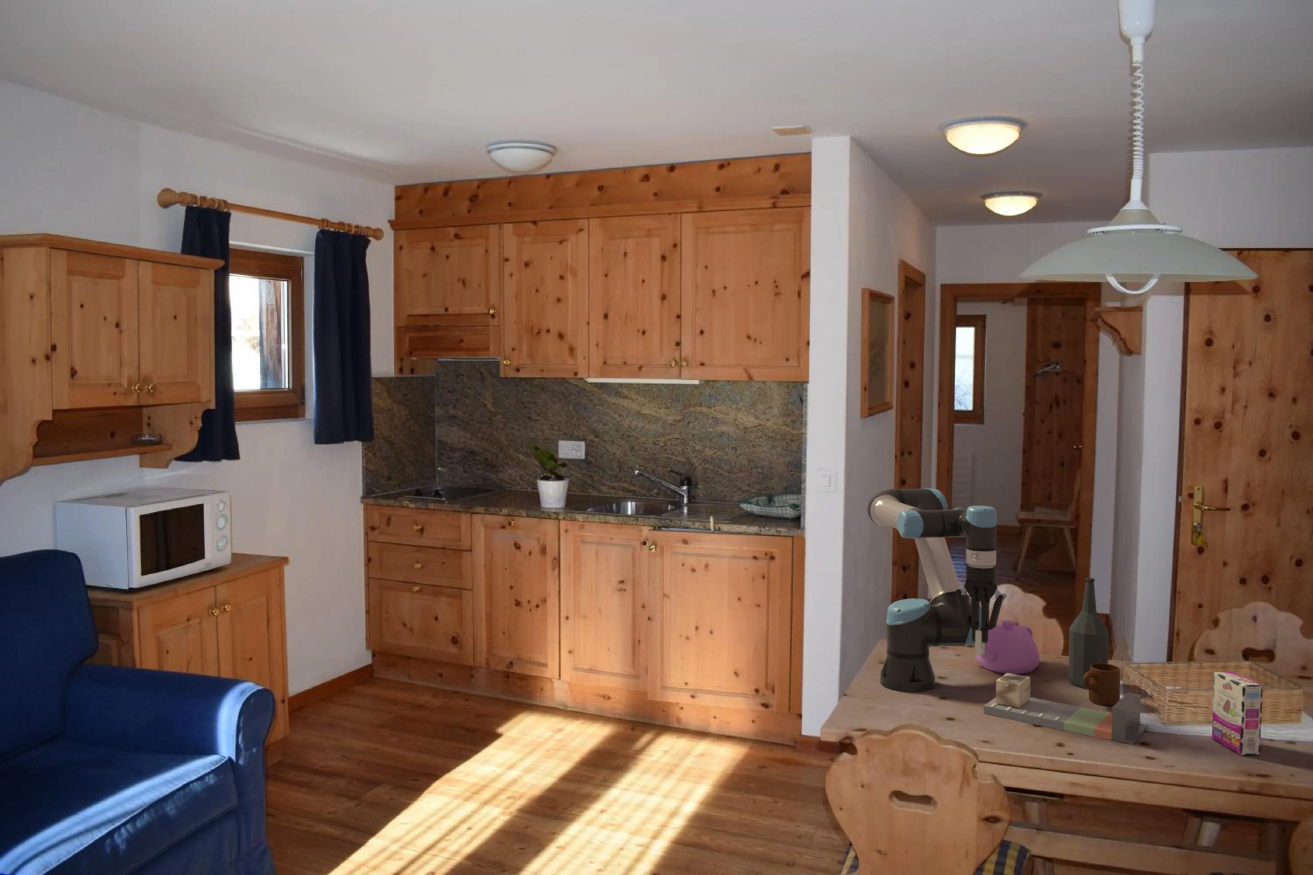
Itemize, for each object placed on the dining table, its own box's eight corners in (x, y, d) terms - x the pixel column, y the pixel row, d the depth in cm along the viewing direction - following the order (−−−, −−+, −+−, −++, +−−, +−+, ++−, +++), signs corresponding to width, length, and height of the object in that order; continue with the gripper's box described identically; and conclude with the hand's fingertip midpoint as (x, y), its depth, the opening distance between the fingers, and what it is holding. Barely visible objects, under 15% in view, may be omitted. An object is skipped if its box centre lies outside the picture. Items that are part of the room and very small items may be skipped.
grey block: (1111, 740, 244) (1112, 707, 243) (1127, 723, 255) (1127, 692, 254) (1132, 744, 241) (1133, 711, 240) (1147, 727, 252) (1148, 695, 251)
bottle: (1090, 677, 293) (1092, 573, 290) (1115, 687, 283) (1118, 580, 281) (1060, 680, 289) (1062, 575, 287) (1084, 691, 280) (1087, 582, 278)
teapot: (1006, 653, 317) (1007, 609, 316) (1057, 667, 302) (1058, 621, 301) (952, 667, 303) (953, 621, 302) (1003, 682, 288) (1004, 634, 288)
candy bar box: (1261, 755, 234) (1264, 685, 233) (1241, 756, 233) (1243, 685, 232) (1230, 737, 245) (1232, 670, 244) (1210, 738, 244) (1212, 671, 243)
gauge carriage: (992, 705, 262) (993, 681, 262) (1006, 695, 270) (1007, 672, 270) (1016, 709, 259) (1016, 685, 258) (1029, 699, 267) (1030, 676, 266)
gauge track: (983, 713, 263) (983, 704, 263) (1003, 699, 274) (1003, 690, 274) (1111, 740, 244) (1111, 730, 244) (1127, 723, 255) (1127, 714, 255)
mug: (1096, 711, 264) (1097, 675, 263) (1071, 702, 271) (1072, 668, 270) (1126, 703, 270) (1126, 668, 269) (1100, 695, 277) (1101, 661, 276)
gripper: (951, 564, 269) (950, 653, 271) (1000, 570, 261) (999, 661, 263) (962, 560, 275) (961, 646, 277) (1010, 565, 267) (1009, 654, 269)
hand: (979, 653), depth 270 cm, fingers closed
